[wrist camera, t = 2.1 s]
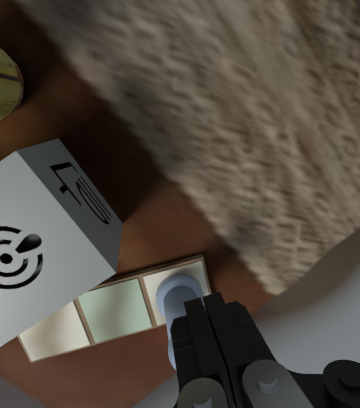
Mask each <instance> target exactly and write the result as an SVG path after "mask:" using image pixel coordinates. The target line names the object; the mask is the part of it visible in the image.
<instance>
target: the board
mask: <svg viewBox="0 0 360 408" xmlns="http://www.w3.org/2000/svg"><path fill="white" fill-rule="evenodd" d="M175 274H187V275H190V276H192V277H194V278H195V279H196V280H197V281H198V282H199V284H200V286H201V289H202V292H203V295H204V296H206V295H210V294H211V289H210V285H209V280H208V276H207V271H206V267H205V262H204V257H203V255H202V254H200V255H196V256H192V257H188V258H185V259H181V260H177V261H174V262H170V263H166V264H162V265H159V266H155V267H151V268H148V269H144V270H140V271H136V272H133V273H129V274H125V275H122V276H118V277H114V278H110V279H107V280H105V281H103V282H101V283H100V284H98V285H97V286H95V287H94V288H92V289H90V290H89V291H87V292H86V293H84V294H83V295H81V296H79V297H78V298H76V299H75V300H73V301H71V302H70V303H68V304H67V305H65V306H64V307H62V308H60V309H59V310H57V311H56V312H54V313H53V314H51V315H49V316H48V317H46V318H45V319H43V320H42V321H40V322H38V323H37V324H35V325H34V326H32V327H30V328H29V329H27V330H26V331H24V332H23V333H21V334H19V335H18V336H17V337H18V339H19V341H20V343H21V345H22V347H23V349H24V351H25V353H26V355H27V357H28V359H29V361H30V363H33V362H36V361H40V360H43V359H47V358H50V357H54V356H57V355H61V354H64V353H68V352H71V351H75V350H78V349H82V348H85V347H89V346H93V345H96V344H100V343H103V342H107V341H110V340H114V339H117V338H121V337H124V336H128V335H131V334H135V333H138V332H142V331H145V330H149V329H152V328H156V327H160V326H163V325H167V324H166V318H165V317H164V316H163V315H162V314H161V313H160V312H159V310H158V308H157V301H156V291H157V288H158V286H159V285H160V283H161V282H162V281H163V280H164V279H166V278H167V277H169V276H171V275H175ZM203 305H204V303H203Z"/></svg>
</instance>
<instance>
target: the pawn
mask: <svg viewBox="0 0 360 408" xmlns="http://www.w3.org/2000/svg"><path fill="white" fill-rule="evenodd" d="M202 296H204V295H203V292H202V289H201V286H200V284H199V282H198V281H197V280H196V279H195V278H194V277H192V276H190V275H187V274H175V275H171V276H169V277H167V278H166V279H164V280H163V281H162V282H161V283H160V285H159V286H158V288H157V291H156V301H157V308H158V310H159V312H160V313H161V314H162V315H163V316H164V317H165V318H166V324H167V331H168V338H169V345H168V355H169V359H170V362H171V364H172V366H173V367H174V369H175V370H176V364H175V358H174V351H173V345H172V339H171V333H170V328H171V325H172V322H173V319H174V318H178V317H181V316H185V315H187V314H186V310H185V306H184V302H185V301H188V300H192V299H196V298H199V297H201V299H202ZM202 302H203V299H202Z"/></svg>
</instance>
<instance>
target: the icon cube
mask: <svg viewBox="0 0 360 408" xmlns="http://www.w3.org/2000/svg"><path fill="white" fill-rule="evenodd" d="M122 224H123V223H122V222H121V221H120V219H119V218H118V217H117V215H116V214H115V213H114V211H113V210H112V209H111V207H110V206H109V205H108V203H107V202H106V201H105V199H104V198H103V197H102V195H101V194H100V193H99V191H98V190H97V189H96V187H95V186H94V185H93V183H92V182H91V181H90V179H89V178H88V177H87V175H86V174H85V173H84V171H83V170H82V169H81V167H80V166H79V165H78V163H77V162H76V161H75V159H74V158H73V157H72V155H71V154H70V153H69V152H68V150H67V149H66V148H65V146H64V145H63V144H62V142H61V141H60V140H59V138H58V139H55V140H51V141H48V142H44V143H41V144H37V145H34V146H31V147H27V148H24V149H20V150H17V151H15V152H13V153H12V154H10V155H9V156H7V157H6V158H4V159H3V160H1V161H0V347H1V346H2V345H4V344H5V343H7V342H8V341H10V340H12V339H13V338H15V337H16V336H18V335H19V334H21V333H23V332H24V331H26V330H27V329H29V328H30V327H32V326H34V325H35V324H37V323H38V322H40V321H42V320H43V319H45V318H46V317H48V316H49V315H51V314H53V313H54V312H56V311H57V310H59V309H60V308H62V307H64V306H65V305H67V304H68V303H70V302H71V301H73V300H75V299H76V298H78V297H79V296H81V295H83V294H84V293H86V292H87V291H89V290H90V289H92V288H94V287H95V286H97V285H98V284H100V283H101V282H103V281H105V280H106V279H108V278H109V277H111V276H112V275H114V274H116V271H117V263H118V255H119V248H120V240H121V232H122Z"/></svg>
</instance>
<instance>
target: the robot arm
mask: <svg viewBox="0 0 360 408" xmlns="http://www.w3.org/2000/svg"><path fill="white" fill-rule="evenodd" d="M359 13H360V0H359ZM202 299H203V302H202ZM202 299H201V297H199V298H196V299H192V300H188V301H185V302H184V306H185V310H186V314H187V315H185V316H181V317H178V318H174V319H173V322H172V325H171V328H170V333H171V339H172V345H173V351H174V358H175V364H176V371H177V377H178V382H179V396H178V400H177V402H176V404H175V406H174V407H173V408H360V363H358V362H354V361H350V360H337V361H333V362H331V363H329V364H328V365H327V366H326V367H325V369H324V371H323V374H300V373H295V372H292V371H289V370H287V369H286V368H285V367H284V366H283V365H281V364H280V363H278V362H277V361H276V359H275V358H274V356H273V355H272V353H271V351H270V349H269V348H268V346H267V344H266V342H265V341H264V339H263V337H262V335H261V333H260V332H259V330H258V328H257V327H256V325H255V323H254V321H253V320H252V318H251V316H250V314H249V312H248V311H247V309H246V307H244V306H243V305H241V304H240V303H238V302H237V301H234V302H230V303H227V304H225V302H224V300H223V298H222V295H221V293H220V292H217V293H213V294H210V295H206V296H202ZM203 303H204V305H203ZM234 405H235V406H234Z"/></svg>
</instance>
